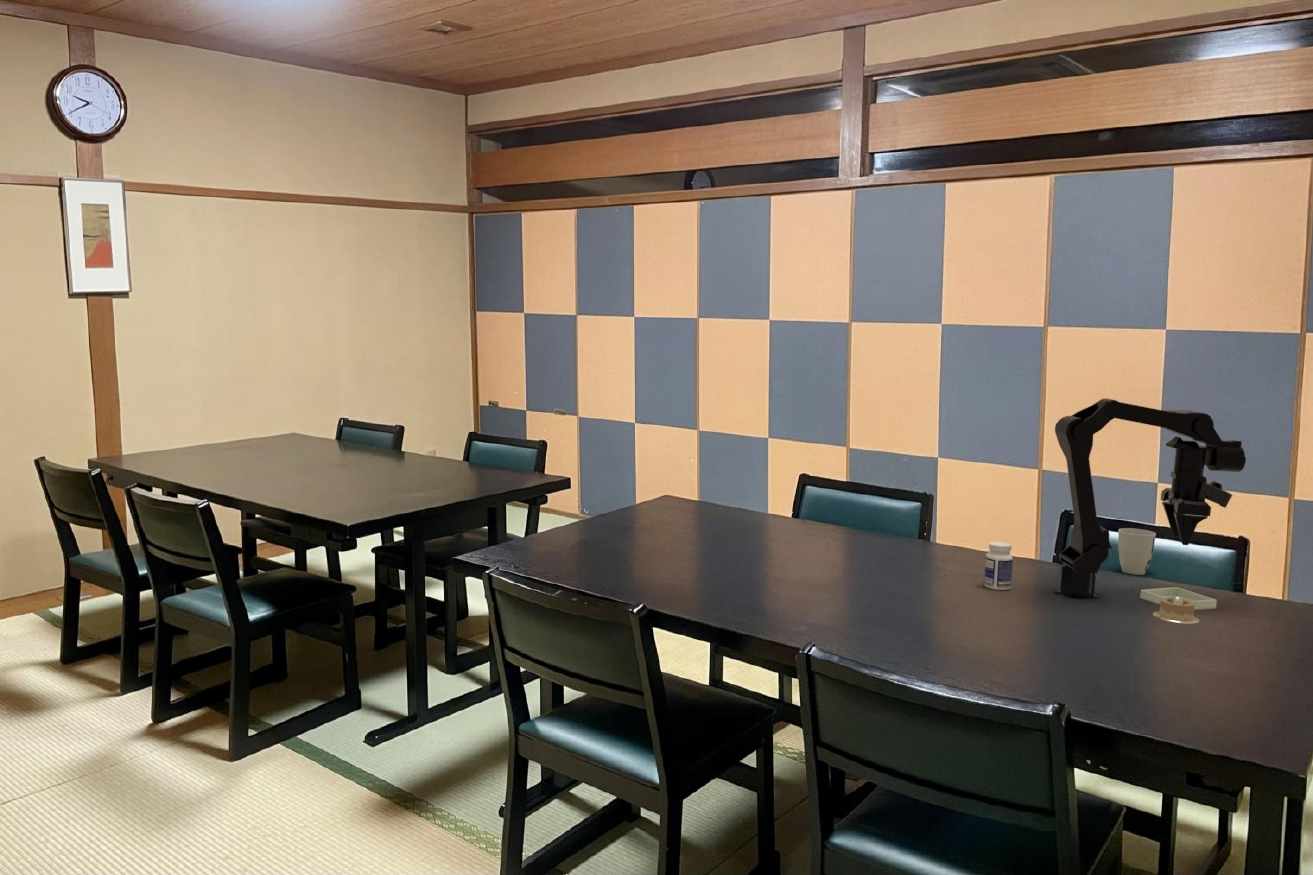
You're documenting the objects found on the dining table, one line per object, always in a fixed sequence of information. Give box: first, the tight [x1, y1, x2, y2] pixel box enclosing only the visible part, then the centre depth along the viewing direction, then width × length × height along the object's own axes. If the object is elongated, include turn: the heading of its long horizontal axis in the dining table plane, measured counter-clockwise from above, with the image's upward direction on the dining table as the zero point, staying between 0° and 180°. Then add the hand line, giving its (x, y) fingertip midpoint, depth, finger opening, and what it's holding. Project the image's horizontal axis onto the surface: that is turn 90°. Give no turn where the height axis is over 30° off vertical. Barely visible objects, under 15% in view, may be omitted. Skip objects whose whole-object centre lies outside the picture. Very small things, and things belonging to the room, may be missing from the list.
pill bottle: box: [983, 541, 1014, 591], centre depth 220 cm, size 6×6×10 cm
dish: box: [1139, 586, 1218, 611], centre depth 210 cm, size 10×10×2 cm
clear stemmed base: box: [1152, 596, 1200, 625], centre depth 200 cm, size 8×8×5 cm
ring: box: [1159, 597, 1195, 622], centre depth 200 cm, size 6×6×3 cm
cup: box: [1117, 527, 1157, 576], centre depth 238 cm, size 8×8×10 cm
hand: (1180, 540), depth 213 cm, fingers open, 9 cm apart
